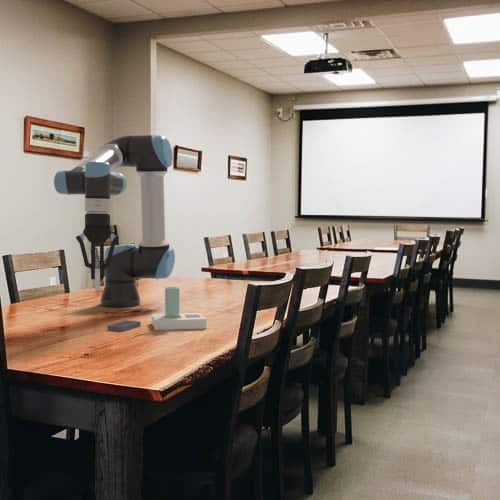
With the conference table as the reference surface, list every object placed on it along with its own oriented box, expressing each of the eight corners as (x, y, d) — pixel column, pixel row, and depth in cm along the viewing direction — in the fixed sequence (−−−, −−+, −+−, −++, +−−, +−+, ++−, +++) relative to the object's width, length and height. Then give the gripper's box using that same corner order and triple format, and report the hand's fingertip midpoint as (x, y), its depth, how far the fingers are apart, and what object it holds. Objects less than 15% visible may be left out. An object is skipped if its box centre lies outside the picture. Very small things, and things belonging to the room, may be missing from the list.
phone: (125, 326, 208) (125, 319, 208) (140, 327, 206) (140, 321, 206) (107, 331, 199) (107, 324, 198) (122, 333, 196) (122, 326, 196)
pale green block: (165, 324, 208) (165, 286, 207) (177, 324, 209) (177, 286, 208) (166, 326, 204) (166, 287, 203) (179, 326, 205) (179, 287, 204)
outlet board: (151, 323, 211) (151, 313, 211) (200, 321, 215) (200, 312, 215) (154, 330, 199) (154, 319, 199) (206, 328, 203) (206, 318, 203)
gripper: (75, 212, 193) (75, 291, 194) (119, 213, 196) (119, 291, 197) (75, 212, 200) (75, 289, 201) (118, 213, 203) (118, 288, 204)
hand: (97, 290), depth 199 cm, fingers closed
